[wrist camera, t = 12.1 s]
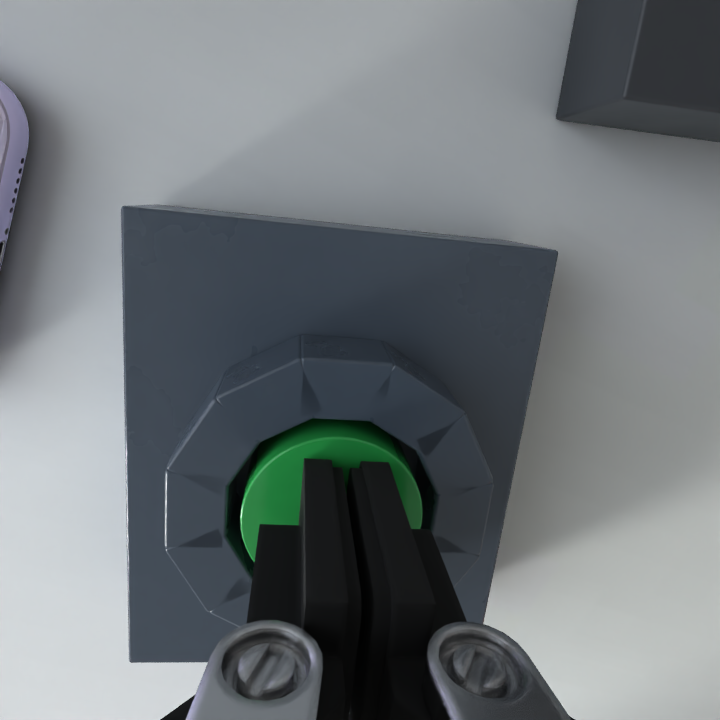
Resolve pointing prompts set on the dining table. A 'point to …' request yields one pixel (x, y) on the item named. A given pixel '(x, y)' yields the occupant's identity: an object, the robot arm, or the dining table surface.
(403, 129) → the dining table surface
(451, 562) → the button housing
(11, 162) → the mobile phone
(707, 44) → the control panel
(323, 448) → the button
